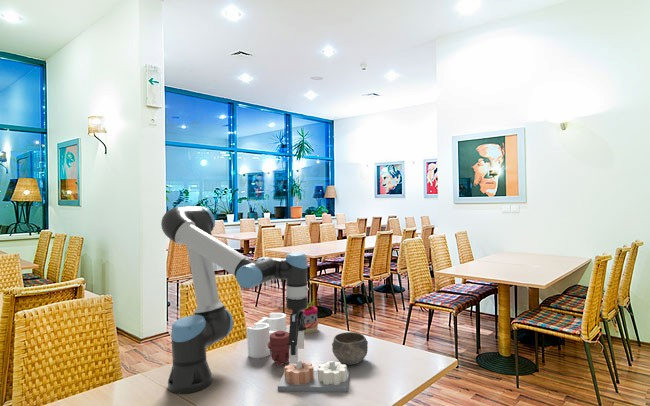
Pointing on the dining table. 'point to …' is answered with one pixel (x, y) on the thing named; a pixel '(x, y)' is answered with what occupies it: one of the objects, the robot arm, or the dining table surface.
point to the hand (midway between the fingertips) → (297, 355)
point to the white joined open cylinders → (264, 334)
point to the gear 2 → (332, 373)
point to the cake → (310, 318)
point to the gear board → (313, 383)
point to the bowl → (350, 347)
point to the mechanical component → (279, 347)
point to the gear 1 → (299, 373)
